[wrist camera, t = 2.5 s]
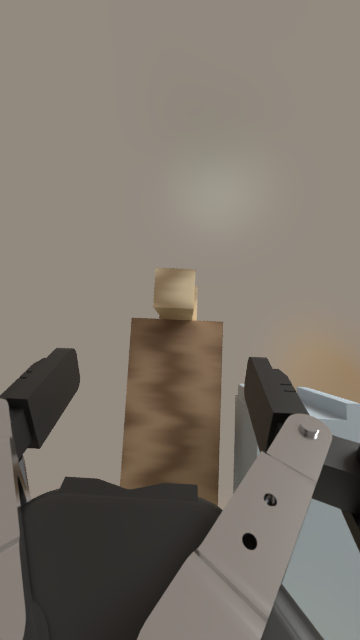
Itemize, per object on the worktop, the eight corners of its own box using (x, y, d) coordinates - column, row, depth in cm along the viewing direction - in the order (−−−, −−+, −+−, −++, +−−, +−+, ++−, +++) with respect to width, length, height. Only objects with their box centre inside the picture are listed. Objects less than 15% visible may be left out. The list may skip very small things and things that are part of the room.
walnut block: (108, 648, 25) (131, 317, 28) (125, 583, 32) (142, 324, 35) (213, 657, 24) (222, 321, 28) (207, 589, 31) (215, 327, 35)
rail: (145, 306, 20) (149, 253, 21) (162, 325, 35) (164, 293, 36) (201, 309, 20) (203, 255, 21) (195, 326, 35) (196, 294, 36)
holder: (253, 738, 19) (257, 398, 22) (230, 607, 29) (235, 383, 32) (375, 749, 19) (364, 404, 22) (311, 613, 29) (309, 387, 32)
